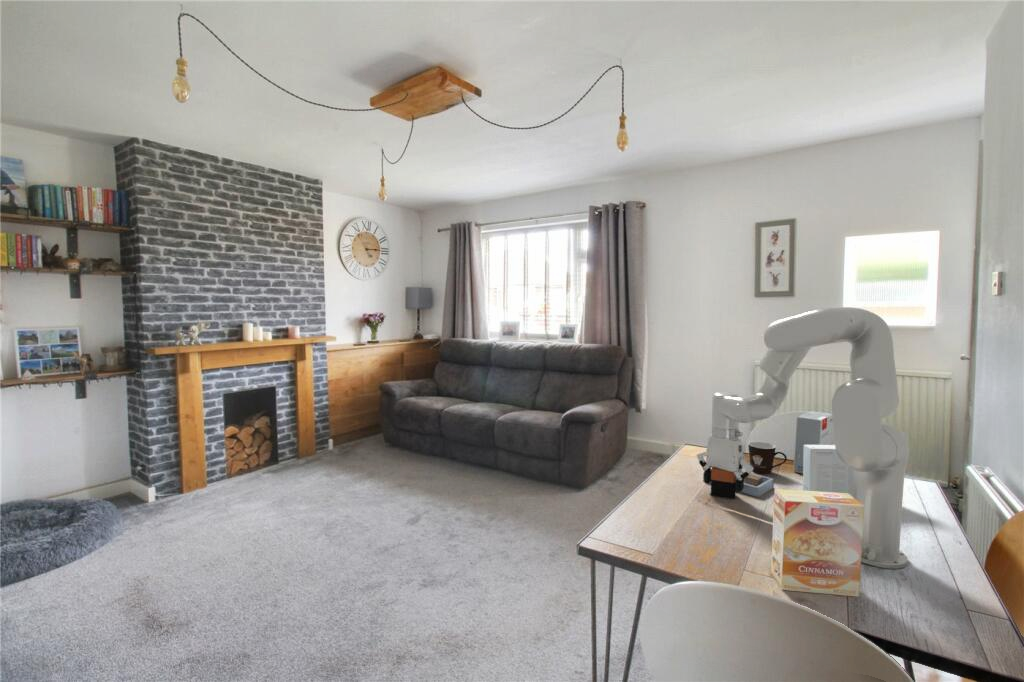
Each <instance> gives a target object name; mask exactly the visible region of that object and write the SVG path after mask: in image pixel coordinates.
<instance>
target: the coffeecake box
mask: <svg viewBox="0 0 1024 682" xmlns="http://www.w3.org/2000/svg"><path fill="white" fill-rule="evenodd" d="M773 492H774V493H773V494H774V495H773V496H774V497H773V518H772V538H771V539H772V540H771V558H770V559H771V560H770V562H771V563H770V564H771V565H770V573H771V574H772V576H773V578H774V580H775V581H776V583H777V584H778V587H779V588H780V590H782V591H790V592H802V593H803V592H804V593H812V594H814V593H815V594H823V595H824V594H825V595H833V596H845V597H846V596H848V597H857V598H858V597H860V587H861V586H860V585H861V571H862V569H861V568H862V567H861V566H862V562H861V554H862V537H863V520H864V505H863V504H861V503H860V502H859V501H858V500H856V499H855V498H854V497H853V496H851V495H850V494H849V493H835V492H819V491H803V489H802V490H801V489H800V490H797V489H786V488H785V489H784V488H774V491H773Z"/></svg>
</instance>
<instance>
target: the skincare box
mask: <svg viewBox="0 0 1024 682" xmlns="http://www.w3.org/2000/svg"><path fill="white" fill-rule="evenodd" d="M853 474H854V470H852V469H850V468H849V467H847V466H846V465H845V464H844V463H843V462H842V461H841V460H840V458H839V456H838V454H837V451H836V447H835V444H832V445H804V452H803V474H802V490H803V491H819V492H835V493H849V494H850V495H851V496H852V484H853Z"/></svg>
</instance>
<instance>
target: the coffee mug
mask: <svg viewBox="0 0 1024 682" xmlns="http://www.w3.org/2000/svg"><path fill="white" fill-rule="evenodd" d="M776 448H777V446H776V445H775V444H773V443H769V442H765V441H757V440H756V441H750V442H748V456H749V457H748V458H749V464H750V465H751V466H752V467H753V468H754V469H753V471H752V472H753V474H757V475H770V474H772V471H773V469H774V468H776V467H779V466H781V465H784V464H785V463H786V462H787V459H788V458H787V454H785V453H783V452H782V451H777V452H776ZM778 454H780V455H782V456H783V457H784V460H783V461H782V462H780V463H777V464H775V465H773V464H774V458H775V457H776V455H778ZM752 472H751V473H752Z"/></svg>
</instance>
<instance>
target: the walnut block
mask: <svg viewBox="0 0 1024 682" xmlns="http://www.w3.org/2000/svg"><path fill="white" fill-rule="evenodd" d="M754 474H755V473H753V474H750V475H749V476H747V477H746V478H745V480H744V483H745V484H749V485H753V486H756V487H757V486H758V485H760V484H762V483H763V477H762V476H763V475H761V476H758V475H759V474H757V475H754Z"/></svg>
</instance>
